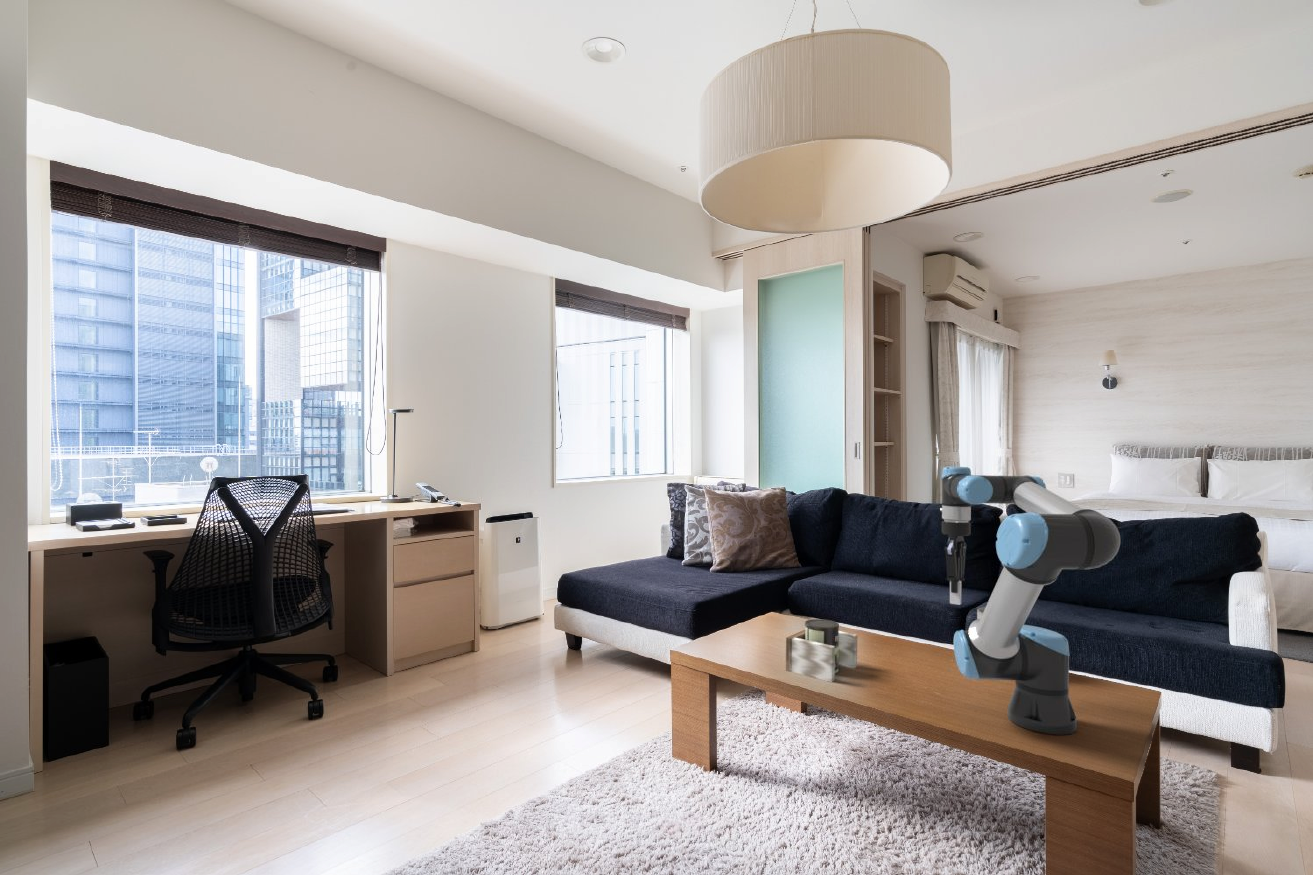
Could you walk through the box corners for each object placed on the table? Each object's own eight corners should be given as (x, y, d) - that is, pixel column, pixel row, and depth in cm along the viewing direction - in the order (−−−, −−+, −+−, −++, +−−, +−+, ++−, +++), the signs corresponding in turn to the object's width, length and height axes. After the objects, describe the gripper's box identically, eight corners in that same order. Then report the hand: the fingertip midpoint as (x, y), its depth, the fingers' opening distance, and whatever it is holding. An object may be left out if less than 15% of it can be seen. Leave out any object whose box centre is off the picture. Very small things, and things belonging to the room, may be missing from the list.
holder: (857, 666, 209) (857, 634, 209) (831, 681, 196) (831, 647, 196) (813, 656, 219) (813, 625, 219) (785, 670, 205) (786, 637, 205)
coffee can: (837, 664, 211) (837, 619, 211) (840, 675, 201) (840, 628, 201) (803, 662, 213) (804, 617, 213) (805, 673, 203) (805, 626, 203)
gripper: (949, 517, 198) (948, 597, 198) (935, 521, 188) (934, 605, 188) (976, 520, 194) (976, 601, 193) (963, 523, 184) (962, 610, 183)
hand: (955, 603), depth 191 cm, fingers closed
